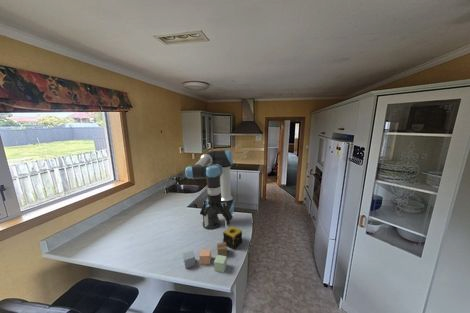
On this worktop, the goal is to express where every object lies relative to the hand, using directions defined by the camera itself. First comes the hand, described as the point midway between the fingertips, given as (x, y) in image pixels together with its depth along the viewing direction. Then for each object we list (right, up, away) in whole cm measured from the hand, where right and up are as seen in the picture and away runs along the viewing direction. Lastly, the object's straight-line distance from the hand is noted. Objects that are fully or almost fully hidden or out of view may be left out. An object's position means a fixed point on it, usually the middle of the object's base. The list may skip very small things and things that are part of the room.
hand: (216, 227), depth 104 cm
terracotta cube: (-8, -25, +10) cm, 28 cm away
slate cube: (-18, -26, +8) cm, 33 cm away
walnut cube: (+2, -24, +16) cm, 29 cm away
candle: (+9, -22, +26) cm, 35 cm away
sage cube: (+2, -26, +4) cm, 26 cm away
